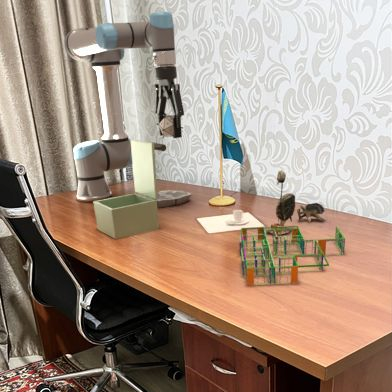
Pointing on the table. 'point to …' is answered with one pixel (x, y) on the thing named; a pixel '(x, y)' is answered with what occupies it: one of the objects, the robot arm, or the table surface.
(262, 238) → the wall framing model
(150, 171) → the lid
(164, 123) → the game die
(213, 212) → the table surface
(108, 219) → the chest
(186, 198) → the brain slice
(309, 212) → the brown animal figurine
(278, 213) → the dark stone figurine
